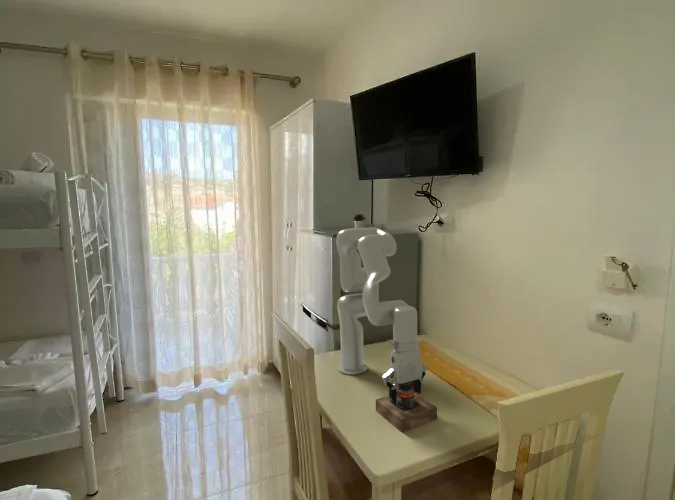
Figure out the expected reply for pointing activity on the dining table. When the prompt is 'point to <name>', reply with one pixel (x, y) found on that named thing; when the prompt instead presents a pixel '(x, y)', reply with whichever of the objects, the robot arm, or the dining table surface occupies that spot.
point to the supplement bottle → (405, 397)
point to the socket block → (406, 413)
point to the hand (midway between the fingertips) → (405, 395)
